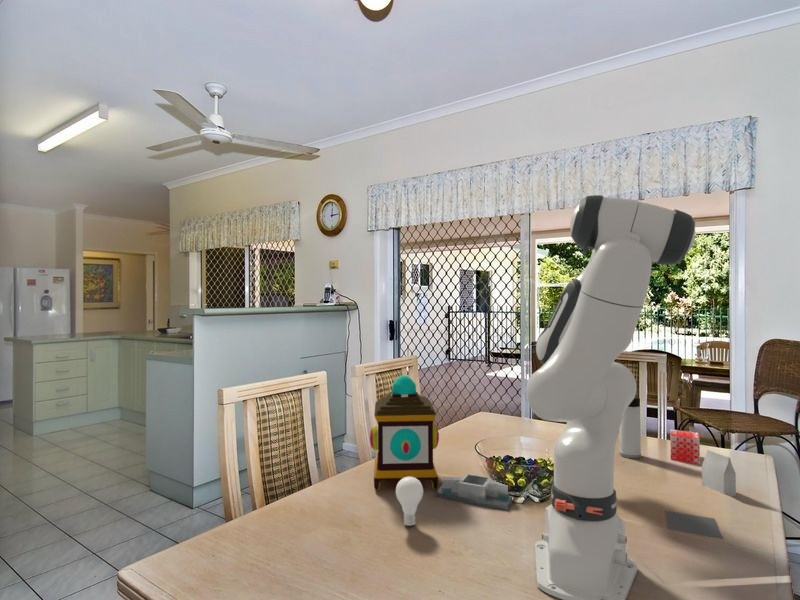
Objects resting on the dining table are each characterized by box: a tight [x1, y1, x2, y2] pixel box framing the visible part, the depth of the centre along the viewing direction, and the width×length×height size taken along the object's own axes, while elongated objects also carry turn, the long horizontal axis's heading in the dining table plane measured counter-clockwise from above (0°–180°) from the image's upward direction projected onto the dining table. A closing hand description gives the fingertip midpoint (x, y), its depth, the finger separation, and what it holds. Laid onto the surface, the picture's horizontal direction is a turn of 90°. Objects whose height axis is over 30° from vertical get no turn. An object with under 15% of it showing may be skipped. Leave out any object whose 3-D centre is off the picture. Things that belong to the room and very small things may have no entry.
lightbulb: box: [395, 476, 424, 527], centre depth 106 cm, size 6×6×11 cm
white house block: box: [701, 449, 737, 497], centre depth 124 cm, size 4×7×10 cm, turn 12°
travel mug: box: [618, 397, 642, 460], centre depth 153 cm, size 6×7×20 cm
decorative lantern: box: [369, 374, 440, 491], centre depth 134 cm, size 20×20×30 cm
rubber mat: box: [664, 510, 724, 540], centre depth 104 cm, size 10×10×1 cm
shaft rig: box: [434, 472, 514, 511], centre depth 122 cm, size 10×19×4 cm, turn 64°
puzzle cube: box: [669, 429, 701, 465], centre depth 150 cm, size 8×8×8 cm
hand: (575, 424), depth 128 cm, fingers closed on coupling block, 4 cm apart
